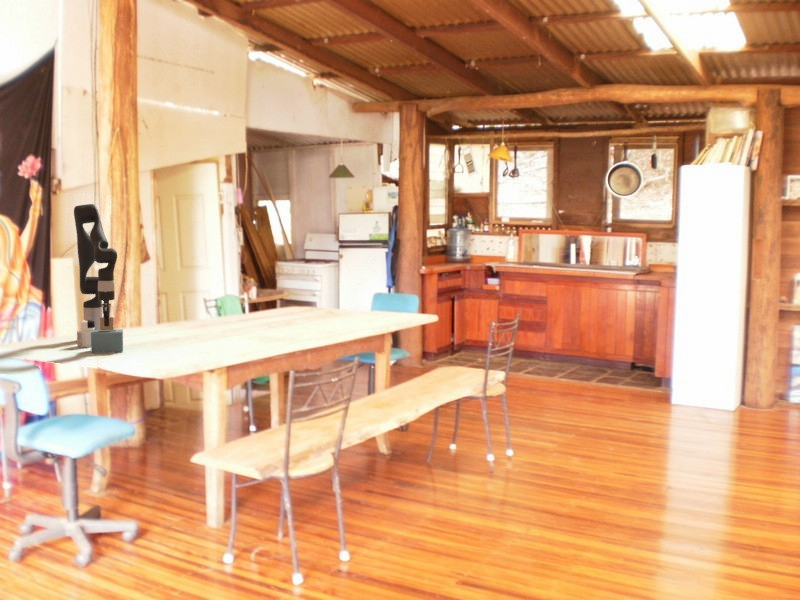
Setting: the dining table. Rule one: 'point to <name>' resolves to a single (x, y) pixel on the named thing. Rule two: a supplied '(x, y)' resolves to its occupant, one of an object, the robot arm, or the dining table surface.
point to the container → (85, 333)
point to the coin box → (107, 341)
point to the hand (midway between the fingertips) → (106, 325)
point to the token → (102, 327)
